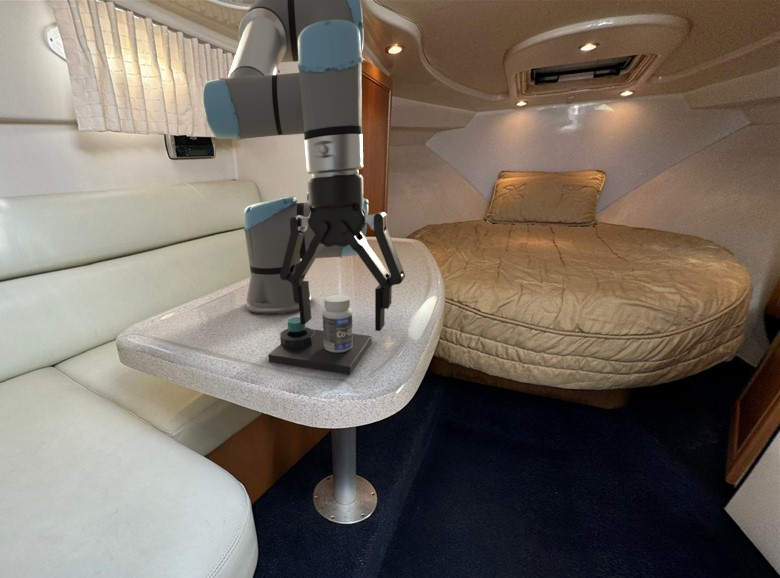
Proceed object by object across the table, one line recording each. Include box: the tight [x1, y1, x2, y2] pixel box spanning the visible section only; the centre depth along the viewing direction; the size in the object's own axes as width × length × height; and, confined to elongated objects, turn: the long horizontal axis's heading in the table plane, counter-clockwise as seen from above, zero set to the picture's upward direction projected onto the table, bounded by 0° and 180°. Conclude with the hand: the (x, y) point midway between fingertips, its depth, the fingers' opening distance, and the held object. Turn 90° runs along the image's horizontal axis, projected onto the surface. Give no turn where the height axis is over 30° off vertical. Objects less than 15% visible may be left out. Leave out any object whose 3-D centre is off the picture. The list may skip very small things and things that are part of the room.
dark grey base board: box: [267, 326, 373, 376], centre depth 61 cm, size 14×12×3 cm
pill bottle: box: [322, 294, 353, 353], centre depth 58 cm, size 5×5×8 cm
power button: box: [286, 316, 306, 332], centre depth 62 cm, size 3×3×2 cm
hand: (341, 324), depth 58 cm, fingers open, 12 cm apart
